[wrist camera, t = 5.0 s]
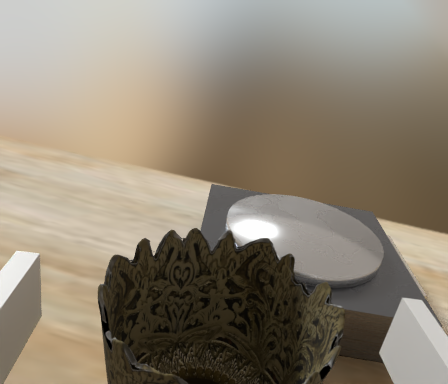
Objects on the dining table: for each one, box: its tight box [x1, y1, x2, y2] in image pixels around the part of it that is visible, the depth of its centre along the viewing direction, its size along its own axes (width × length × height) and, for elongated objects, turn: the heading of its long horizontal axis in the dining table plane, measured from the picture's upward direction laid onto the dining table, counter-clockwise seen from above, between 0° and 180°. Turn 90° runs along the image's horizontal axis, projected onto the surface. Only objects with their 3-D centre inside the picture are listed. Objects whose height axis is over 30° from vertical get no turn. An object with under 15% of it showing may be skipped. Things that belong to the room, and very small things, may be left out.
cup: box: [98, 228, 345, 384], centre depth 14 cm, size 8×7×8 cm
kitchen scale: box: [201, 184, 442, 363], centre depth 27 cm, size 14×13×4 cm
